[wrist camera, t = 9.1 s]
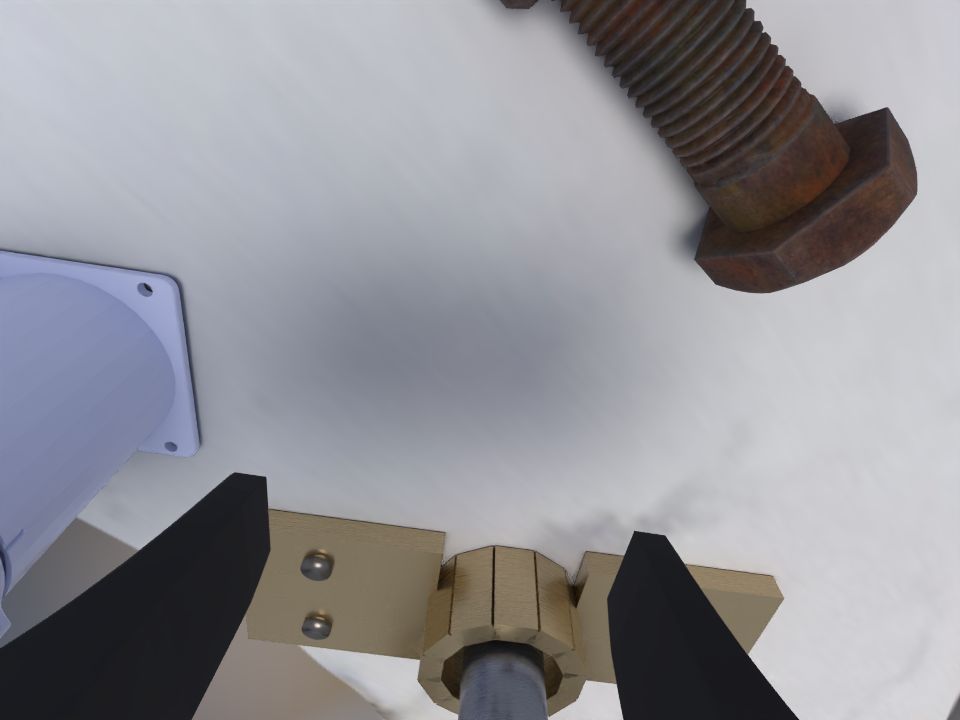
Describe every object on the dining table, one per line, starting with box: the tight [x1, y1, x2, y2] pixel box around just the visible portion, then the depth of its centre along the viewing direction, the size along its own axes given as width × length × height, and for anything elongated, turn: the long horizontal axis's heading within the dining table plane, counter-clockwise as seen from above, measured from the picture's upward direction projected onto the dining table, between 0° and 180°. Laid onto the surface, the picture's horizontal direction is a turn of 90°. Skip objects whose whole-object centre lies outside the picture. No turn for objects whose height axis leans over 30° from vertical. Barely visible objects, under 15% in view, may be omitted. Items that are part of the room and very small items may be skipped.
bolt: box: [500, 0, 917, 293], centre depth 13 cm, size 6×5×15 cm
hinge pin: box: [458, 640, 548, 720], centre depth 24 cm, size 4×4×8 cm
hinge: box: [246, 509, 784, 717], centre depth 26 cm, size 25×8×4 cm, turn 81°
